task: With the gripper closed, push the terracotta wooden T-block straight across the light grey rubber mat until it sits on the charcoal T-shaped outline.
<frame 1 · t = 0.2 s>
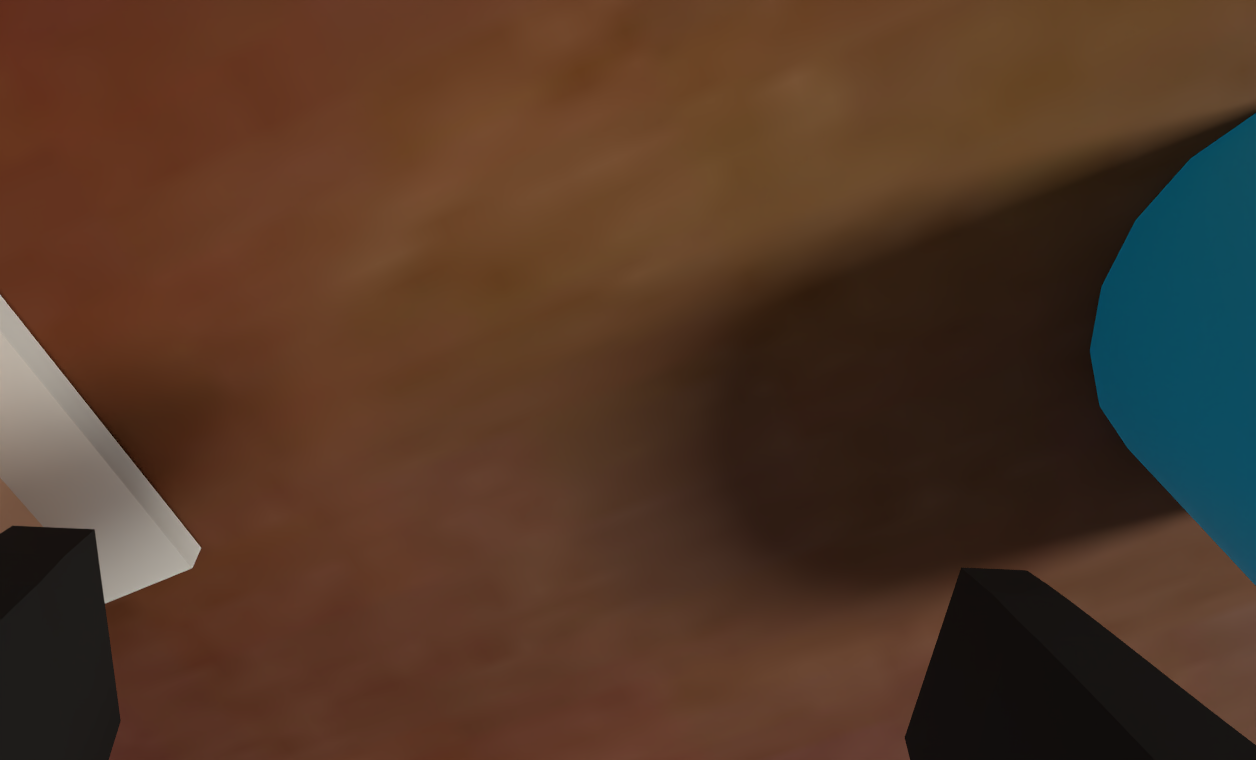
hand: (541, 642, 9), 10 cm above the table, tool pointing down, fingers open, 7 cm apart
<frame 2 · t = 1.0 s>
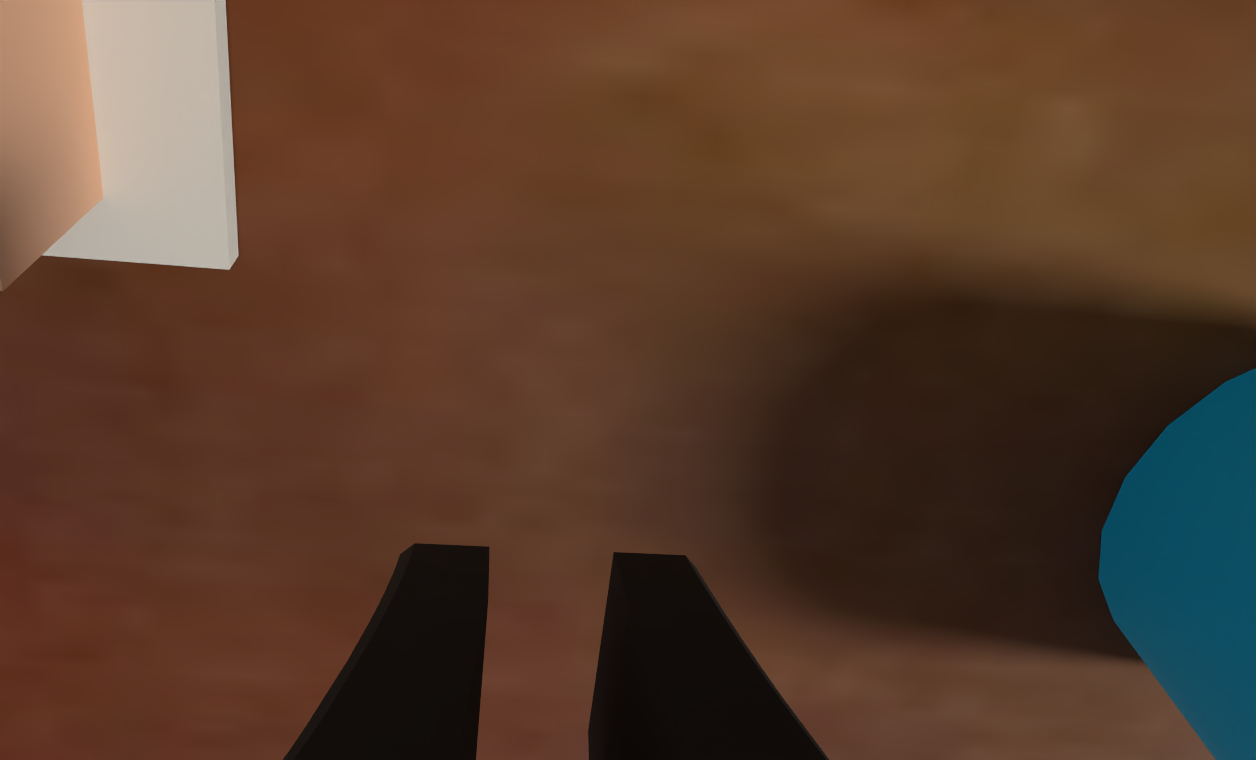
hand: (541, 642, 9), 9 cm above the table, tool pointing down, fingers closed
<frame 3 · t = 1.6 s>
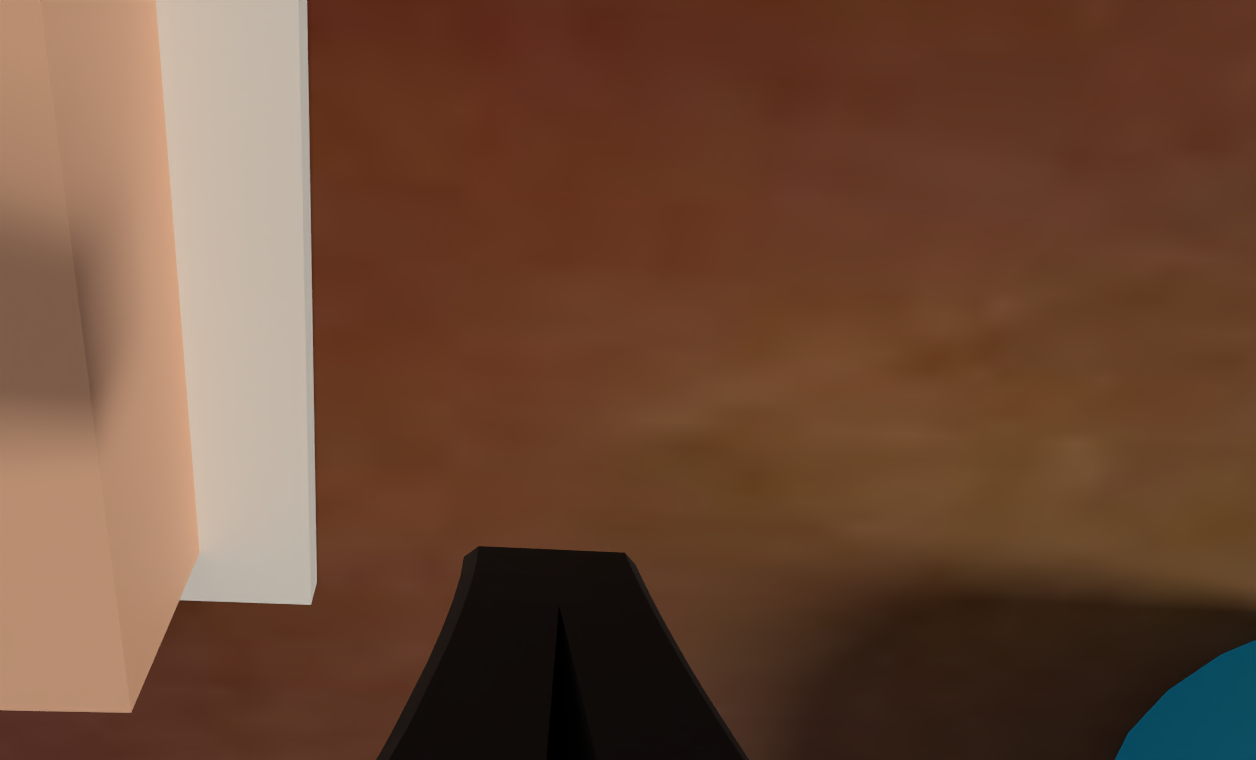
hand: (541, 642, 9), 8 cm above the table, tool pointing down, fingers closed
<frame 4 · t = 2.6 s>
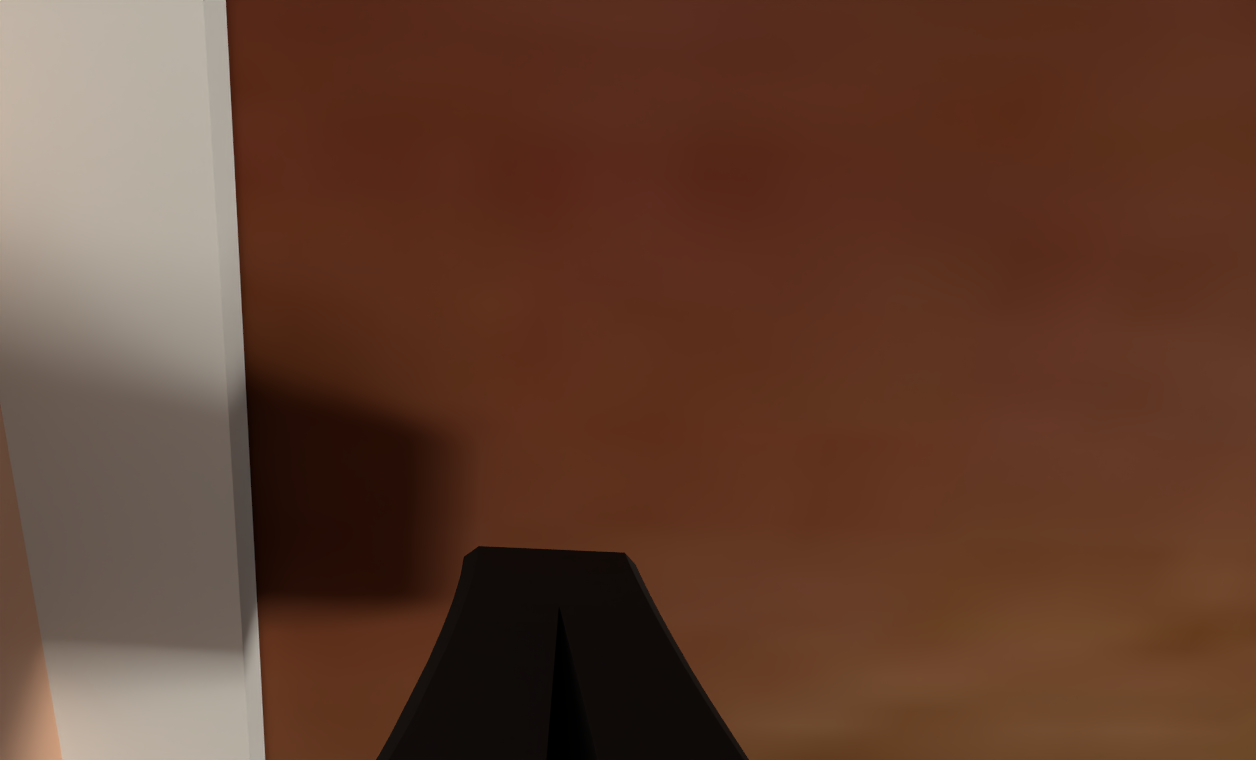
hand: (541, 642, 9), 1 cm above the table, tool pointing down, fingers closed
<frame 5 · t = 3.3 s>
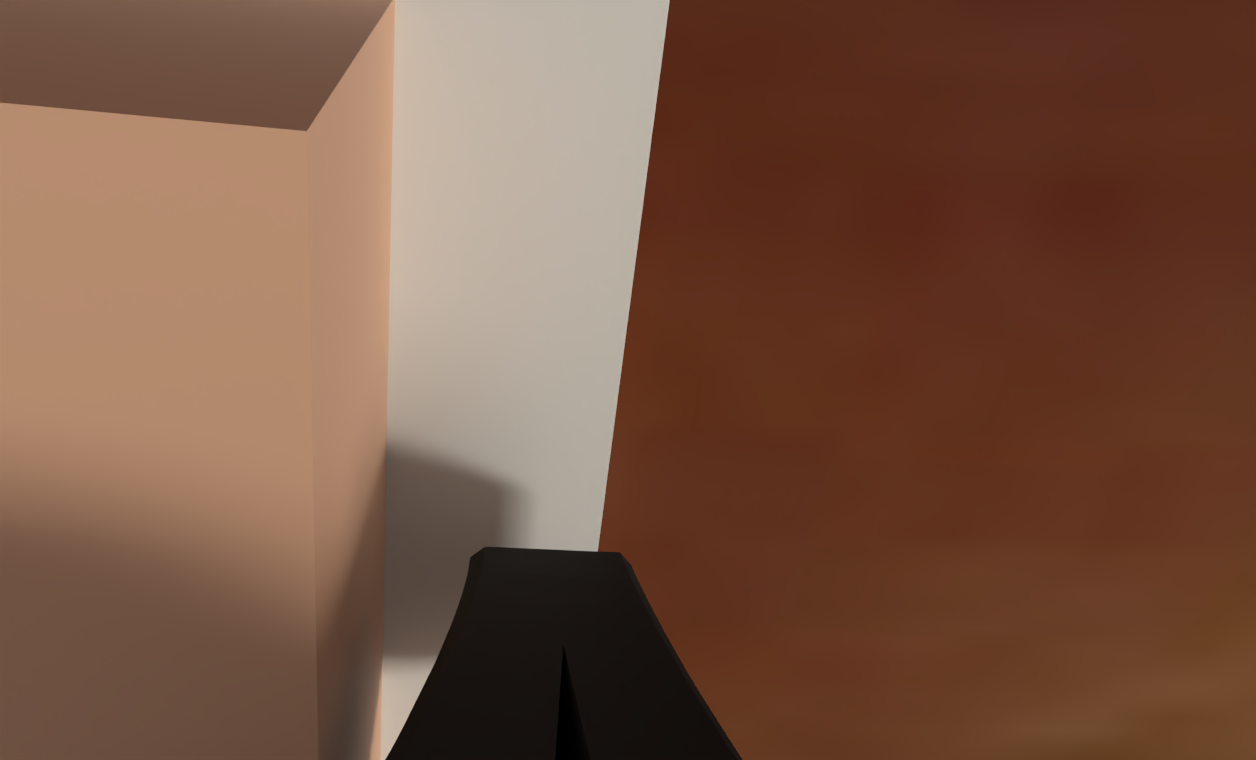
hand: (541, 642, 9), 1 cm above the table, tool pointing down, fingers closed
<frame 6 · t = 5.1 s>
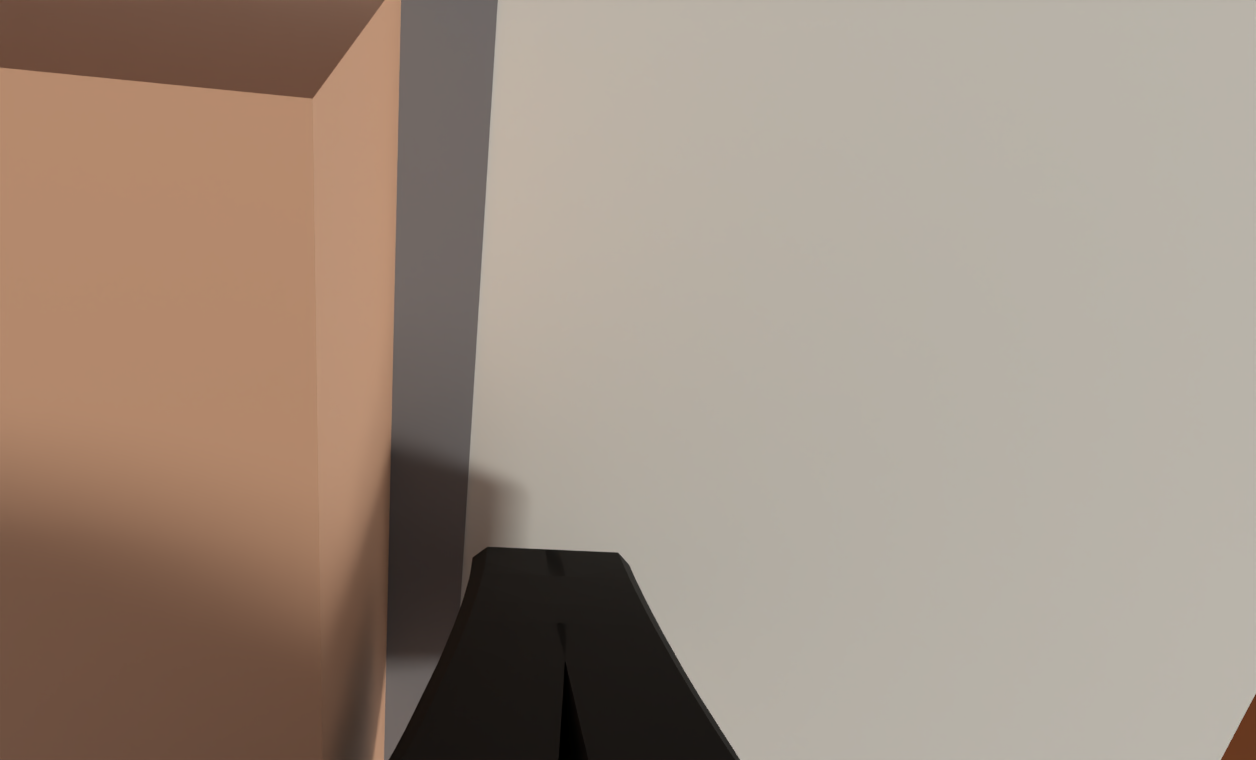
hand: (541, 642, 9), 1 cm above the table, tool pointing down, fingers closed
push mat: (299, 537, 10), on the table
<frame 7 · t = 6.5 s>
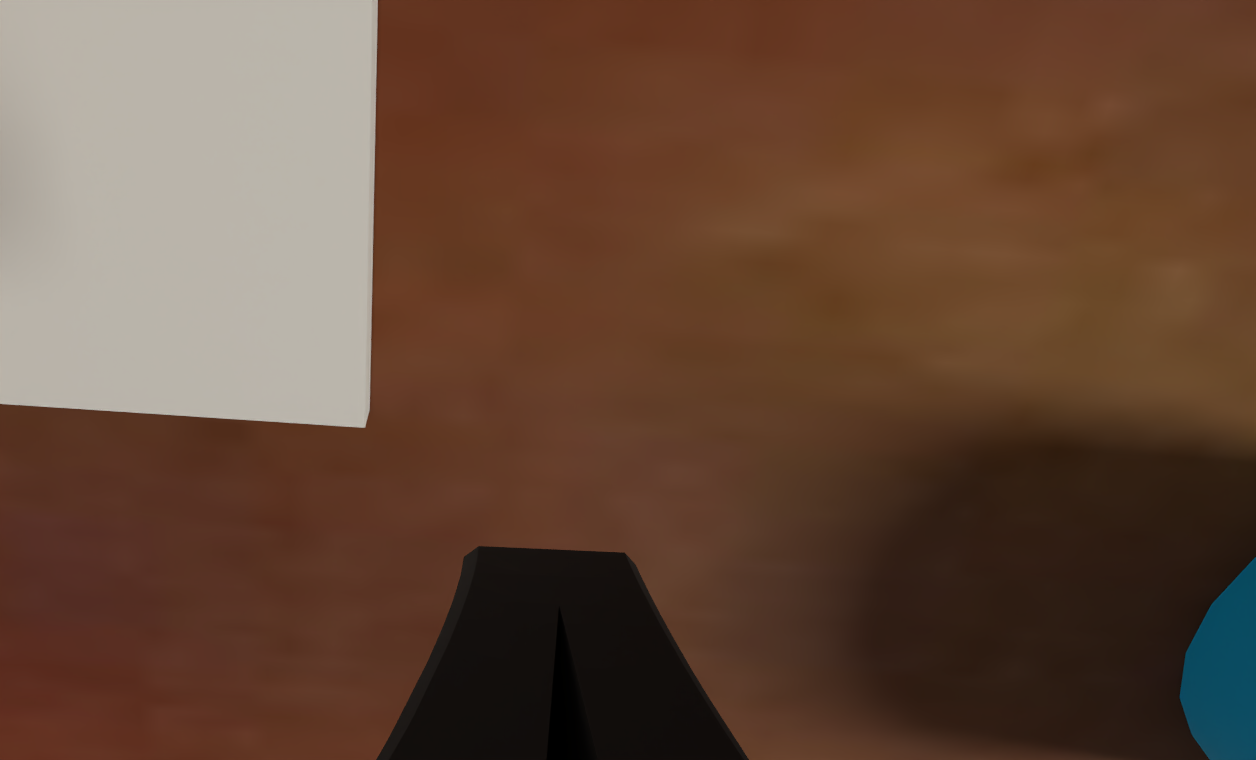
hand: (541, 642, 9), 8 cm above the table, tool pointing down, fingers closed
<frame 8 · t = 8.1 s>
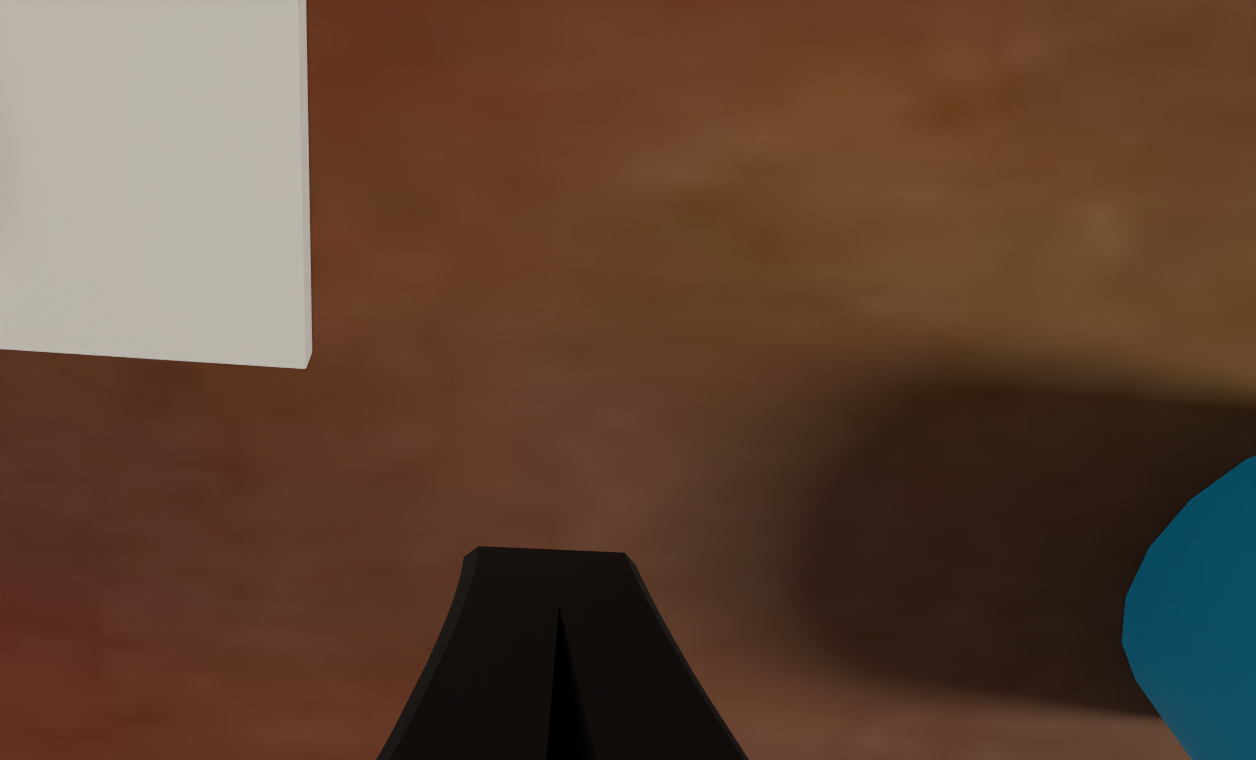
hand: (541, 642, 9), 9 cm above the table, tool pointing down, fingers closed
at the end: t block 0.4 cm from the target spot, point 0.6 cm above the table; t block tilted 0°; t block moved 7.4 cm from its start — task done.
